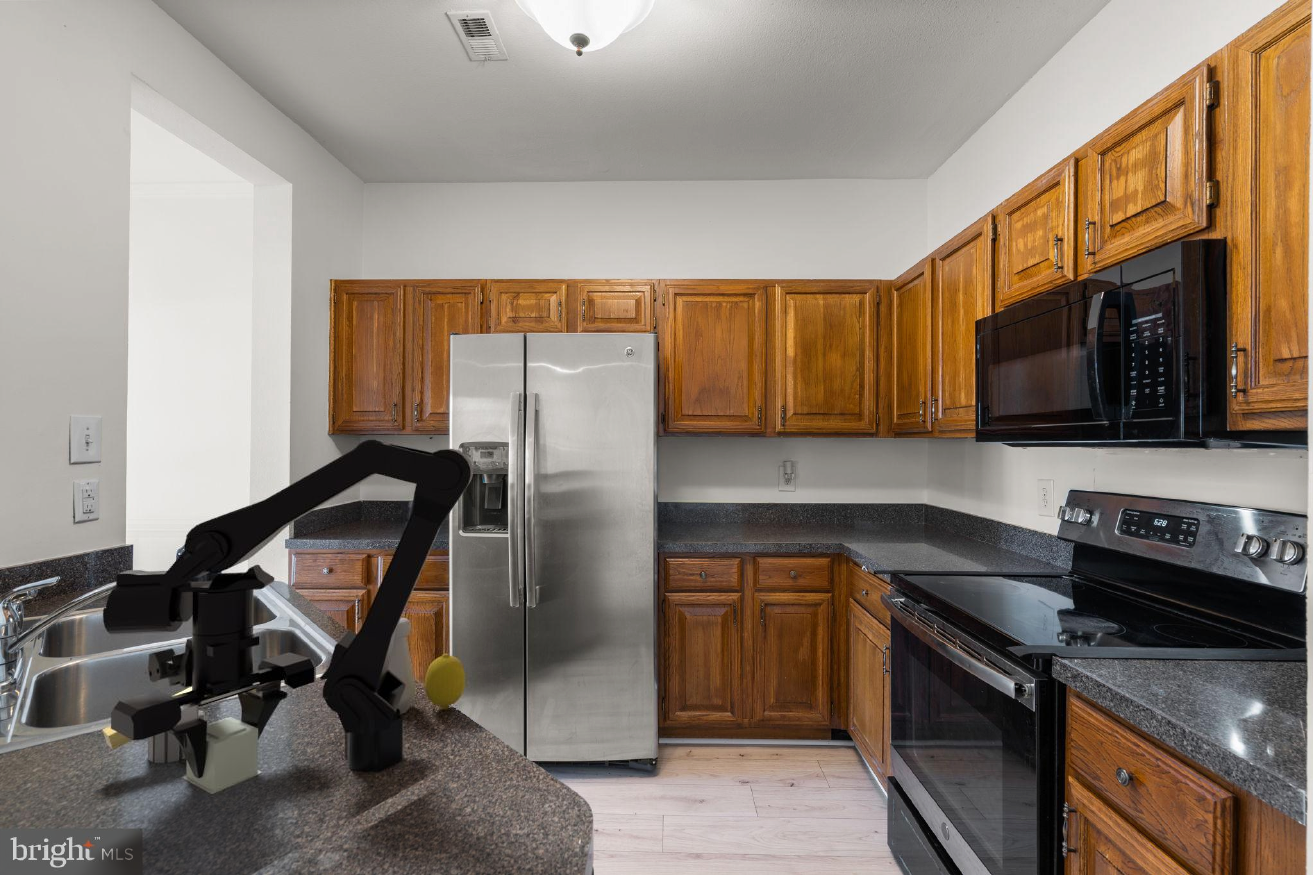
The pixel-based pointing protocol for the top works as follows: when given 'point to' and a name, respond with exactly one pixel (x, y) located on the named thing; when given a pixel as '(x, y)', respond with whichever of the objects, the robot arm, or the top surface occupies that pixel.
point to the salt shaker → (403, 664)
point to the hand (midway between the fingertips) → (222, 767)
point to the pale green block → (228, 753)
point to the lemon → (445, 681)
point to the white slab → (175, 753)
